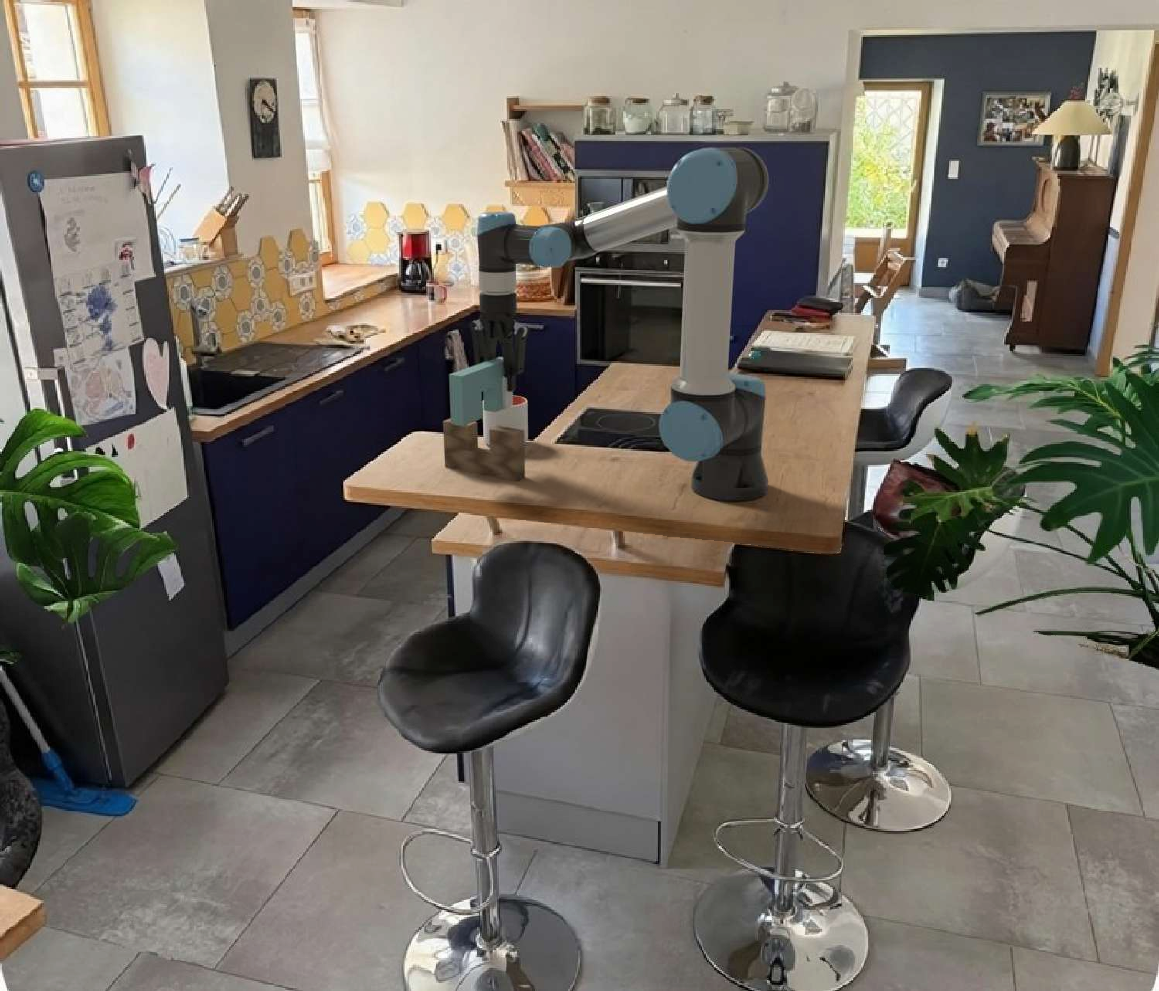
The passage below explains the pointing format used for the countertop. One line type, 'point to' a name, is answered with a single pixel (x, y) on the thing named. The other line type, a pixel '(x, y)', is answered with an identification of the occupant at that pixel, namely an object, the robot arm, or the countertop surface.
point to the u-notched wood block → (485, 450)
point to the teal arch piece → (476, 391)
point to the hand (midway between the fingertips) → (500, 404)
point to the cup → (507, 418)
